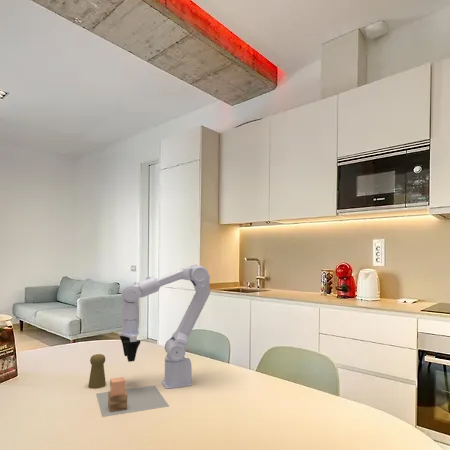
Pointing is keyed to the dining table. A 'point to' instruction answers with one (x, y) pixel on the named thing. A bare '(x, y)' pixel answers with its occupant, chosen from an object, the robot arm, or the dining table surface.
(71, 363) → the dining table surface
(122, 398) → the tower top
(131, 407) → the mat
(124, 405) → the tower bottom
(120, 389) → the cube
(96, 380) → the olive pawn
